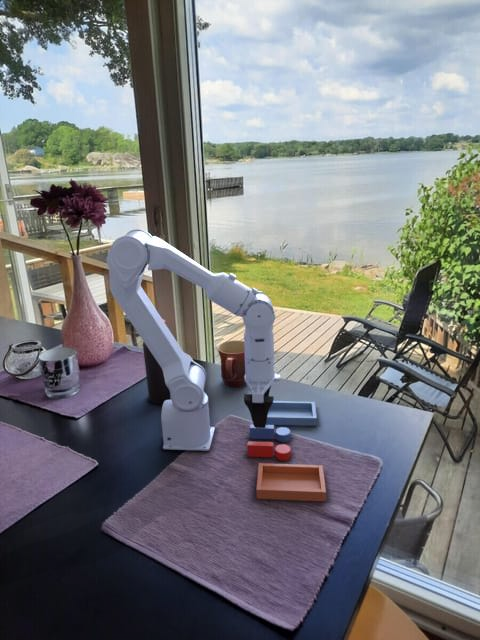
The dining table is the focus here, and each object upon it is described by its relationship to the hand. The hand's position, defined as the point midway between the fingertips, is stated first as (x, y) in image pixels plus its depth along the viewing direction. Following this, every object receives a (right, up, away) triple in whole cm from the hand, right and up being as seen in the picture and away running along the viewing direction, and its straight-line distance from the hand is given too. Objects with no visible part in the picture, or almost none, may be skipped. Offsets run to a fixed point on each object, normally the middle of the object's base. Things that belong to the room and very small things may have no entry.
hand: (260, 416), depth 90 cm
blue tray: (+7, -2, +9) cm, 11 cm away
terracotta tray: (+5, -9, -13) cm, 16 cm away
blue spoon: (+2, -5, +1) cm, 5 cm away
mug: (-6, +3, +24) cm, 24 cm away
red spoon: (+2, -7, -4) cm, 8 cm away
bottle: (-23, 0, +19) cm, 30 cm away
